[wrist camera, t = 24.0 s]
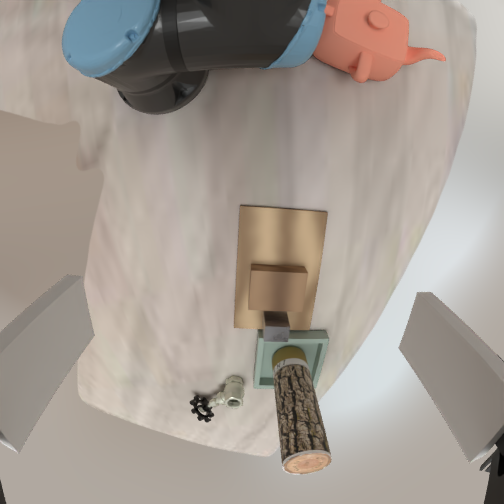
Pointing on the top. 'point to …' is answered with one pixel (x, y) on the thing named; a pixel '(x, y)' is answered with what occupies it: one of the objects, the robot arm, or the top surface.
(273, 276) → the walnut plate
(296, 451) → the log cylinder
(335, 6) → the teapot
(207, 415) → the valve
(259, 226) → the board
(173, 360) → the top surface
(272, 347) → the tray
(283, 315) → the block
